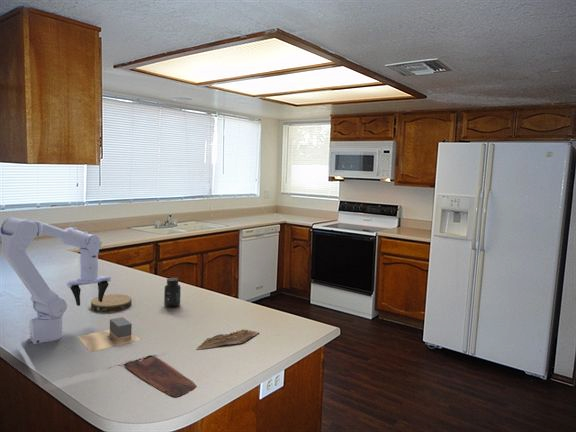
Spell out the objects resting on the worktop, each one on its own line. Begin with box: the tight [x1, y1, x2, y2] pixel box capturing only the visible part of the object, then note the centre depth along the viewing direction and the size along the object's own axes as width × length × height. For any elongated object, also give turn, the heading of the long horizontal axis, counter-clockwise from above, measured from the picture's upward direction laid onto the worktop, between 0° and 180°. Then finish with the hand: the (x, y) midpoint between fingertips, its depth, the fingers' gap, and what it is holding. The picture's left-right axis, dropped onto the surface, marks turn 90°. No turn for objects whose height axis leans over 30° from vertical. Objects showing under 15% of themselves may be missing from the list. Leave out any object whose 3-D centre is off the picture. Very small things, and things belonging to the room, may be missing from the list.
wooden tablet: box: [124, 355, 198, 398], centre depth 122 cm, size 26×2×10 cm
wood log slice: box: [90, 293, 133, 313], centre depth 180 cm, size 16×16×3 cm
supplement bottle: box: [163, 277, 181, 309], centre depth 183 cm, size 7×7×12 cm
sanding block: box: [109, 316, 133, 341], centre depth 145 cm, size 4×8×5 cm, turn 42°
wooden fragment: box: [196, 329, 260, 350], centre depth 150 cm, size 26×11×1 cm, turn 128°
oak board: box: [76, 329, 141, 353], centre depth 143 cm, size 16×15×2 cm
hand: (89, 303), depth 154 cm, fingers open, 7 cm apart
